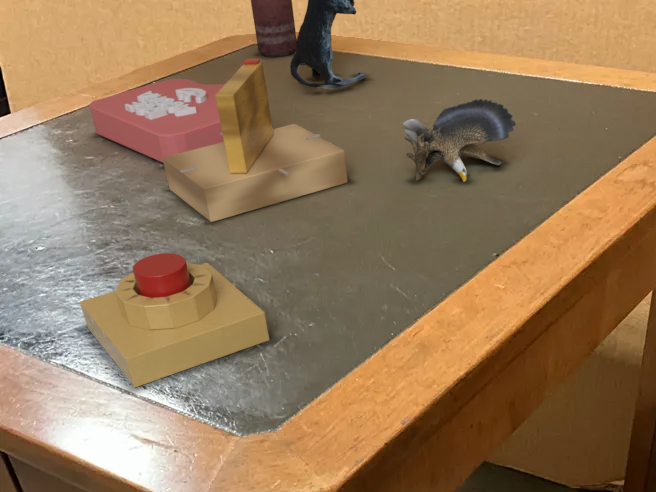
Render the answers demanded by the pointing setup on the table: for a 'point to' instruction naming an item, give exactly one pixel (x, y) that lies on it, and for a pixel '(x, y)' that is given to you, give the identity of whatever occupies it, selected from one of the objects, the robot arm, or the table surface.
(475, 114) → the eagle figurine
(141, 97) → the plaque
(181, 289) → the button
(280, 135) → the stand
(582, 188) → the table surface
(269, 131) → the wooden block
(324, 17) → the sculpture
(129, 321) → the switch
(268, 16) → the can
